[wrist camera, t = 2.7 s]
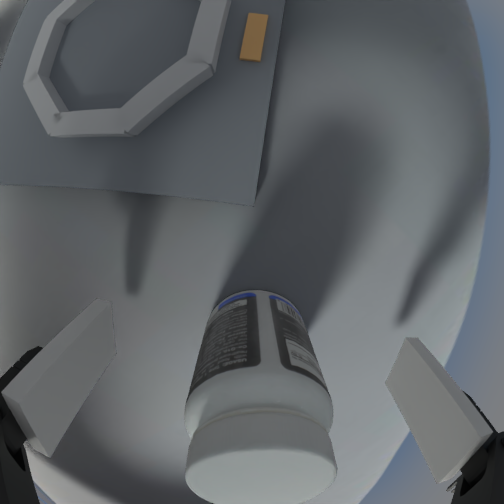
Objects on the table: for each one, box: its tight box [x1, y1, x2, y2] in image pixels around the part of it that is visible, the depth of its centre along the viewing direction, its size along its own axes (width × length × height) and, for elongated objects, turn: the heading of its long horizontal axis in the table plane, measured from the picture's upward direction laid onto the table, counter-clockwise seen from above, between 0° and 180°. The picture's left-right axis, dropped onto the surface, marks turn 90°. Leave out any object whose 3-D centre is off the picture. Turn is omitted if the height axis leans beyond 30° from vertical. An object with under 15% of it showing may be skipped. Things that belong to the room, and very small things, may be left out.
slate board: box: [0, 0, 286, 207], centre depth 9 cm, size 14×16×2 cm
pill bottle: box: [184, 290, 337, 504], centre depth 9 cm, size 5×5×8 cm
